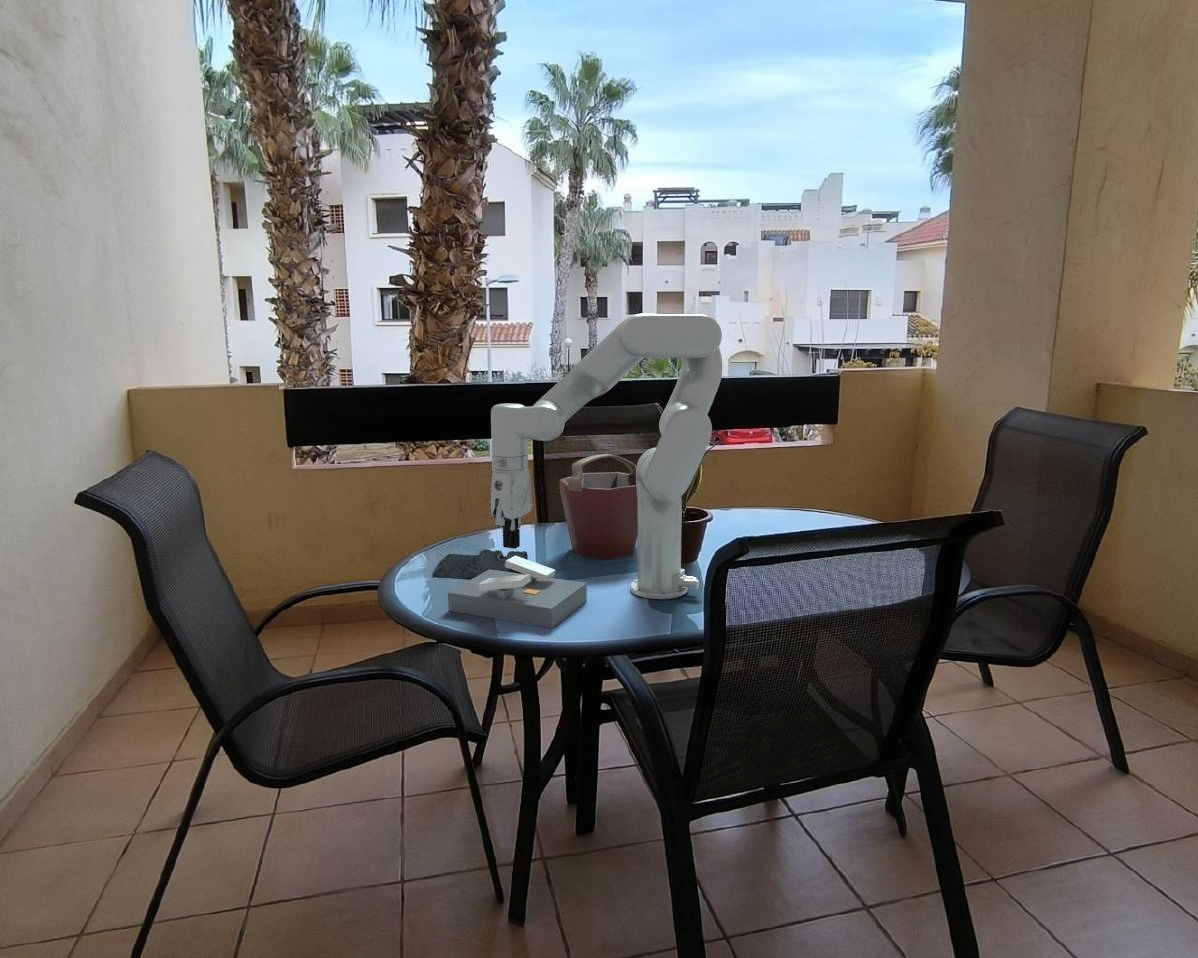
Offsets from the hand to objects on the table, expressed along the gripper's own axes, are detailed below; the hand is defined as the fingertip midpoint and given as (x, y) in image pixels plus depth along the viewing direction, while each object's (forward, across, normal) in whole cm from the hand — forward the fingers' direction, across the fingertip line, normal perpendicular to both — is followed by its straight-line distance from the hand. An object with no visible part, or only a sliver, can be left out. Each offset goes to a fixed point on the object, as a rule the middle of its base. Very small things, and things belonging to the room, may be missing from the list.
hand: (511, 546), depth 161 cm
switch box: (+11, -5, -4) cm, 13 cm away
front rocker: (+5, -10, -4) cm, 12 cm away
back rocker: (+5, 0, -4) cm, 6 cm away
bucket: (+11, +39, -4) cm, 41 cm away
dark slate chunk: (+12, +13, +16) cm, 24 cm away
